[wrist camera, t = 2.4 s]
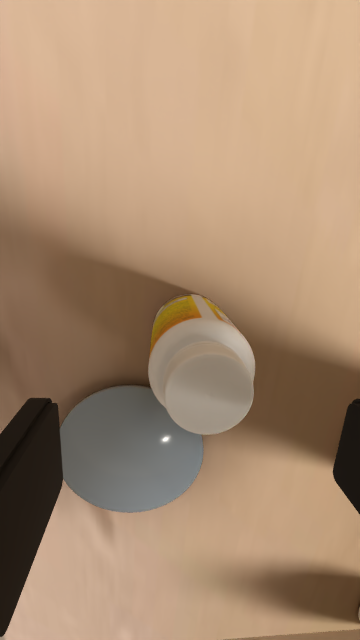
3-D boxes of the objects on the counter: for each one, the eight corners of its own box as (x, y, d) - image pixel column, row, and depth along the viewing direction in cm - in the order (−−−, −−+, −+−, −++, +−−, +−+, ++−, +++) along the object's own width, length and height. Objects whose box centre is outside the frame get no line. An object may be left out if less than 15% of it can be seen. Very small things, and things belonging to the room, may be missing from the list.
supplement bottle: (145, 353, 22) (131, 439, 13) (162, 284, 21) (161, 320, 11) (213, 367, 23) (250, 460, 13) (233, 302, 22) (291, 351, 12)
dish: (224, 465, 26) (226, 476, 24) (107, 519, 26) (104, 532, 25) (160, 356, 23) (160, 362, 21) (31, 421, 23) (24, 430, 22)
